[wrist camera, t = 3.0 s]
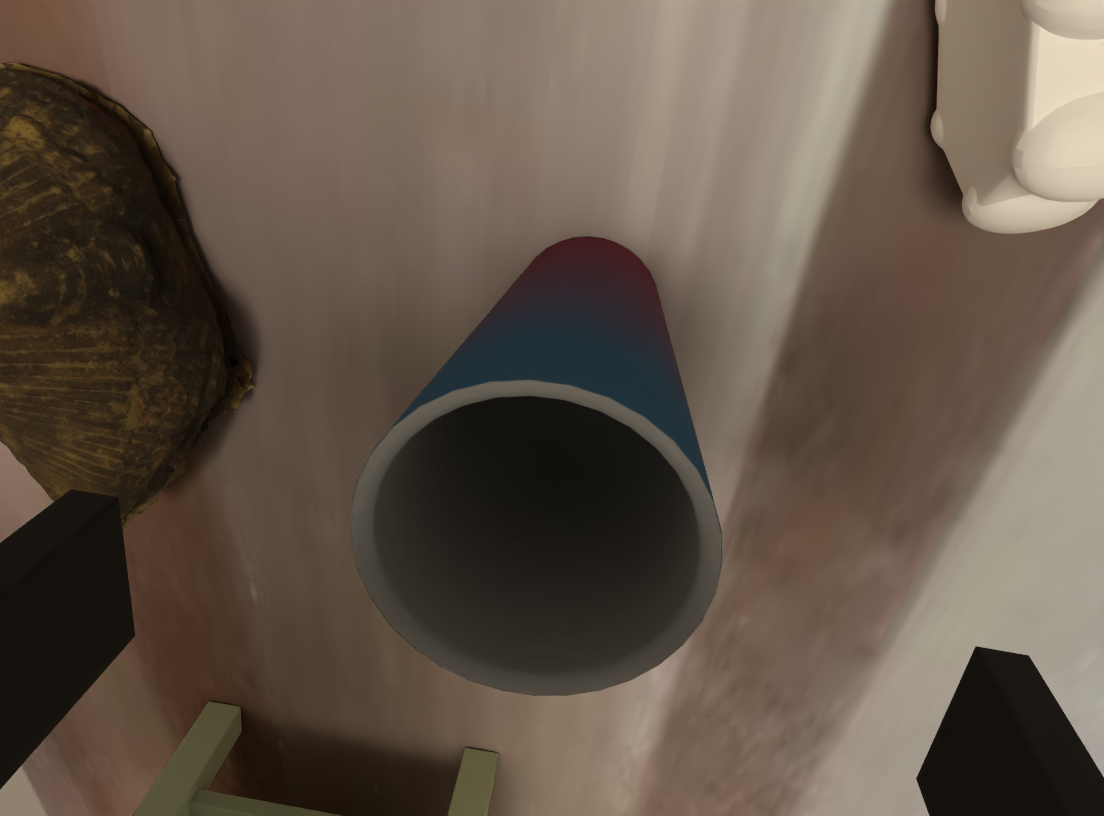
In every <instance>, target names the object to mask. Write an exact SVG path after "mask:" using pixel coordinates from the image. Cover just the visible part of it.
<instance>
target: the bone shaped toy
mask: <svg viewBox="0 0 1104 816" xmlns="http://www.w3.org/2000/svg"><path fill="white" fill-rule="evenodd" d="M935 15H936V19H937V22H938V25H939V45H938V79H937V109H936V110H935V112H934V114H933V116H932V120H931V126H930V128H931V133H932V136H933V139H934V141H935V142H936V143H937V144H938V145H939V147H940V148H942V149H943V150H944V152H945V154H946V157H947V159H948V161H949V164H950V166H951V168H952V170H953V173H954V175H955V177H956V180H957V182H958V184H959V186H960V189H961V191H962V193H963V200H962V211H963V214H964V215H965V217H966V219H967V220H968V221H969V222H970V223H971V224H973V225H974V226H976V227H978V228H980V229H982V230H985V231H989V232H994V233H1005V234H1013V233H1026V232H1034V231H1039V230H1044V229H1048V228H1053V227H1056V226H1059V225H1062V224H1065V223H1067V222H1070V221H1072V220H1073V219H1075V218H1077V217H1079V216H1081V215H1083V214H1084V213H1085V212H1087V211H1088V210H1089V209H1090V208H1092V207H1093V206H1094V205H1095V204H1096V202H1097V201H1098V200H1099V199H1103V198H1104V0H935Z"/></svg>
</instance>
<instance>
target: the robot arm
mask: <svg viewBox="0 0 1104 816" xmlns="http://www.w3.org/2000/svg"><path fill="white" fill-rule="evenodd" d="M134 636H135V629H134V621H133V613H132V605H131V597H130V589H129V580H128V572H127V564H126V556H125V548H124V539H123V531H122V523H121V515H120V507H119V499H118V497H114V496H109V495H103V494H97V493H91V492H86V491H80V490H74V489H71V490H69V491H68V492H67V493H65V494H64V495H63V496H61V497H60V498H59V499H57V500H56V501H55V502H53V503H52V504H51V505H50V506H48V507H47V508H46V509H44V510H43V511H42V512H40V513H39V514H38V515H36V516H35V517H34V518H33V519H31V520H30V521H29V522H27V523H26V524H25V525H23V526H22V527H21V528H19V529H18V530H17V531H15V532H14V533H13V534H12V535H10V536H9V537H8V538H6V539H5V540H4V541H2V542H1V543H0V789H1V788H2V787H3V785H5V783H6V782H7V781H8V780H9V779H10V778H11V777H12V775H13V774H14V773H15V772H16V771H17V770H18V768H19V767H20V766H21V765H22V764H23V763H24V762H25V761H26V759H27V758H28V757H29V756H30V755H31V754H32V753H33V751H34V750H35V749H36V748H37V747H38V746H39V745H40V744H41V742H42V741H43V740H44V739H45V738H46V737H47V736H48V734H49V733H50V732H51V731H52V730H53V729H54V728H55V726H56V725H57V724H58V723H59V722H60V721H61V720H62V718H63V717H64V716H65V715H66V714H67V713H68V712H69V710H70V709H71V708H72V707H73V706H74V705H75V704H76V702H77V701H78V700H79V699H80V698H81V697H82V696H83V695H84V693H85V692H86V691H87V690H88V689H89V688H90V687H91V685H92V684H93V683H94V682H95V681H96V680H97V679H98V677H99V676H100V675H101V674H102V673H103V672H104V671H105V669H106V668H107V667H108V666H109V665H110V664H111V663H112V661H113V660H114V659H115V658H116V657H117V656H118V655H119V653H120V652H121V651H122V650H123V649H124V648H125V647H126V646H127V644H128V643H129V642H130V641H131V640H132V639H133V638H134ZM916 779H917V782H918V785H919V788H920V790H921V793H922V796H923V799H924V802H925V804H926V807H927V810H928V813H929V816H1104V777H1103V776H1102V774H1101V772H1100V771H1099V769H1098V767H1097V766H1096V764H1095V763H1094V761H1093V759H1092V758H1091V756H1090V754H1089V753H1088V751H1087V750H1086V748H1085V746H1084V745H1083V743H1082V741H1081V740H1080V738H1079V736H1078V735H1077V733H1076V732H1075V730H1074V728H1073V727H1072V725H1071V723H1070V722H1069V720H1068V719H1067V717H1066V715H1065V714H1064V712H1063V710H1062V709H1061V707H1060V706H1059V704H1058V702H1057V701H1056V699H1055V697H1054V696H1053V694H1052V693H1051V691H1050V689H1049V688H1048V686H1047V684H1046V683H1045V681H1044V680H1043V678H1042V676H1041V675H1040V673H1039V671H1038V670H1037V668H1036V666H1035V665H1034V663H1033V662H1032V660H1031V658H1030V657H1029V656H1028V655H1022V654H1016V653H1011V652H1005V651H999V650H993V649H988V648H982V647H975V649H974V651H973V654H972V656H971V658H970V660H969V663H968V665H967V667H966V669H965V671H964V674H963V676H962V678H961V680H960V683H959V685H958V687H957V689H956V691H955V694H954V696H953V698H952V700H951V703H950V705H949V707H948V709H947V711H946V714H945V716H944V718H943V720H942V723H941V725H940V727H939V729H938V731H937V734H936V736H935V738H934V740H933V743H932V745H931V747H930V749H929V751H928V754H927V756H926V758H925V760H924V763H923V765H922V767H921V769H920V771H919V774H918V776H917V778H916Z"/></svg>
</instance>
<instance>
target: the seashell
mask: <svg viewBox="0 0 1104 816" xmlns="http://www.w3.org/2000/svg"><path fill="white" fill-rule="evenodd" d="M175 181H176V178H175V177H174V176H173V175H172V174H171V172H170V170H169V168H168V166H167V165H166V164H165V163H164V161H163V159H162V156H161V154H160V152H159V149H158V147H157V145H156V142H155V140H154V138H153V136H152V133H151V131H150V130H149V129H147V128H146V127H145V126H144V125H142V124H141V123H140V122H139V121H137V120H136V119H135V118H134V117H132V116H131V115H130V114H129V113H127V112H126V111H125V110H124V109H122V108H121V107H120V106H119V105H117V104H115V103H113V102H111V101H109V100H107V99H105V98H103V97H102V96H100V95H98V94H96V93H94V92H92V91H90V90H88V89H86V88H84V87H82V86H81V85H79V84H78V83H76V82H75V81H73V80H68V79H66V78H64V77H62V76H60V75H57V74H54V73H50V72H46V71H42V70H39V69H35V68H31V67H28V66H24V65H20V64H17V63H0V441H1V442H2V443H3V444H4V445H6V446H7V447H8V448H9V449H10V451H11V452H12V453H13V455H14V456H15V458H16V459H17V460H18V462H20V463H21V464H23V465H24V466H25V467H26V468H27V470H28V472H29V474H30V475H31V476H32V477H33V478H34V479H35V480H36V481H37V482H38V483H39V484H40V485H41V486H42V487H43V489H44V490H45V491H46V493H47V494H48V495H49V497H50V498H51V499H52V500H53V501H54V502H55V501H56V500H57V499H59V498H60V497H61V496H63V495H64V494H65V493H67V492H68V491H69V490H71V489H74V490H80V491H86V492H91V493H97V494H103V495H109V496H114V497H118V499H119V507H120V515H121V523H122V529H123V528H124V527H126V526H127V524H128V523H129V521H130V520H132V519H133V518H134V517H136V516H137V515H139V514H140V513H142V512H143V511H144V510H145V509H146V508H147V507H148V506H150V505H152V504H153V503H155V502H157V500H158V497H159V494H160V493H161V492H162V491H163V489H165V487H166V486H167V485H168V484H169V483H170V482H172V481H173V480H174V479H175V478H176V477H177V476H178V475H180V474H182V473H184V472H186V469H187V466H186V456H187V454H188V452H189V450H190V449H192V448H193V447H196V446H203V443H204V440H205V439H206V437H207V433H208V423H209V422H210V421H212V420H214V419H215V418H217V417H218V416H220V415H221V414H227V412H226V410H227V409H228V408H229V407H231V408H233V409H235V410H236V409H237V408H238V407H239V405H240V403H241V399H242V397H243V396H244V394H245V393H246V392H247V391H249V390H250V389H251V388H253V387H255V386H254V385H253V384H252V383H251V377H252V369H251V363H250V362H249V361H248V360H247V359H246V358H245V357H244V356H243V355H242V353H241V352H240V351H239V349H238V346H237V344H236V341H235V338H234V335H233V333H232V330H231V327H230V323H229V319H228V315H227V311H226V308H225V306H224V305H223V303H222V301H221V299H220V297H219V296H218V294H217V292H216V290H215V289H214V286H213V284H212V282H211V281H210V279H209V277H208V275H207V273H206V270H205V268H204V266H203V263H202V261H201V259H200V256H199V254H198V251H197V249H196V247H195V244H194V242H193V239H192V237H191V235H190V232H189V230H188V224H187V219H186V216H185V213H184V210H183V206H182V203H181V200H180V197H179V194H178V191H177V187H176V184H175Z"/></svg>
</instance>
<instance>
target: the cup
mask: <svg viewBox="0 0 1104 816" xmlns="http://www.w3.org/2000/svg"><path fill="white" fill-rule="evenodd" d="M350 515H351V545H352V549H353V553H354V557H355V561H356V565H357V570H358V573H359V575H360V577H361V579H362V581H363V583H364V586H365V588H366V590H367V592H368V594H369V596H370V598H371V600H372V602H373V603H374V604H375V606H376V607H377V608H378V610H379V611H380V613H381V614H382V615H383V617H384V618H385V619H386V621H387V622H388V624H389V625H390V626H391V627H392V628H393V629H394V630H395V631H396V632H397V633H398V634H399V635H400V636H401V637H402V638H403V639H404V640H405V641H406V642H408V643H409V644H410V645H411V646H412V647H413V648H414V649H415V650H417V651H418V652H420V653H421V654H423V655H424V656H426V657H427V658H429V659H430V660H431V661H433V662H434V663H436V664H437V665H439V666H440V667H442V668H444V669H446V670H448V671H451V672H453V673H455V674H457V675H459V676H461V677H463V678H465V679H467V680H469V681H472V682H475V683H479V684H482V685H485V686H488V687H492V688H495V689H498V690H501V691H508V692H515V693H521V694H528V695H534V696H568V695H574V694H581V693H587V692H593V691H600V690H603V689H606V688H609V687H612V686H615V685H618V684H621V683H624V682H627V681H630V680H632V679H634V678H636V677H638V676H639V675H641V674H643V673H645V672H647V671H649V670H650V669H652V668H654V667H656V666H658V665H659V664H661V663H662V662H663V661H664V660H665V659H667V658H668V657H669V656H670V655H672V654H673V653H674V652H675V651H676V650H678V649H679V648H680V647H681V646H682V645H683V644H684V643H685V642H686V641H687V639H688V638H689V637H690V636H691V634H692V633H693V632H694V631H695V629H696V628H697V627H698V626H699V624H700V623H701V622H702V620H703V618H704V616H705V614H706V612H707V610H708V608H709V606H710V604H711V602H712V599H713V597H714V595H715V593H716V589H717V585H718V580H719V575H720V571H721V566H722V530H721V527H720V523H719V519H718V515H717V511H716V507H715V504H714V500H713V496H712V492H711V489H710V485H709V481H708V477H707V474H706V470H705V466H704V463H703V459H702V455H701V452H700V448H699V444H698V440H697V437H696V433H695V429H694V426H693V422H692V418H691V415H690V411H689V407H688V403H687V400H686V396H685V392H684V389H683V385H682V381H681V378H680V374H679V370H678V366H677V363H676V359H675V355H674V352H673V348H672V344H671V341H670V337H669V333H668V329H667V326H666V322H665V318H664V315H663V311H662V307H661V304H660V300H659V296H658V292H657V289H656V285H655V282H654V280H653V278H652V276H651V274H650V272H649V270H648V269H647V268H646V266H645V265H644V264H643V262H642V261H641V260H640V259H639V258H638V257H637V256H636V255H634V254H633V253H632V252H631V251H630V250H628V249H627V248H625V247H623V246H621V245H619V244H618V243H615V242H612V241H609V240H606V239H603V238H596V237H577V238H571V239H567V240H564V241H560V242H558V243H556V244H554V245H552V246H550V247H548V248H547V249H545V250H544V251H543V252H542V253H541V254H539V255H538V256H537V257H536V258H535V259H534V260H533V261H532V262H531V264H530V265H529V266H528V267H527V268H526V270H525V271H524V272H523V273H522V274H521V275H520V277H519V278H518V279H517V280H516V281H515V283H514V284H513V285H512V286H511V287H510V288H509V290H508V291H507V292H506V293H505V294H504V295H503V297H502V298H501V299H500V300H499V301H498V303H497V304H496V305H495V306H494V307H493V308H492V310H491V311H490V312H489V313H488V314H487V316H486V317H485V318H484V319H483V320H482V321H481V323H480V324H479V325H478V326H477V327H476V328H475V330H474V331H473V332H472V333H471V334H470V336H469V337H468V338H467V339H466V340H465V341H464V343H463V344H462V345H461V346H460V347H459V348H458V350H457V351H456V352H455V353H454V354H453V356H452V357H451V358H450V359H449V360H448V361H447V363H446V364H445V365H444V366H443V367H442V369H441V370H440V371H439V372H438V373H437V374H436V376H435V377H434V378H433V379H432V380H431V381H430V383H429V384H428V385H427V386H426V387H425V389H424V390H423V391H422V392H421V393H420V394H419V396H418V397H417V398H416V399H415V400H414V402H413V403H412V404H411V405H410V406H409V407H408V409H407V410H406V411H405V412H404V413H403V414H402V416H401V417H400V418H399V419H398V420H397V422H396V423H395V424H394V425H393V426H392V427H391V429H390V430H389V431H388V432H387V434H386V435H385V436H384V437H383V438H382V440H381V441H380V442H379V443H378V444H377V446H376V447H375V448H374V449H373V451H372V452H371V453H370V455H369V457H368V460H367V462H366V464H365V466H364V468H363V470H362V472H361V474H360V476H359V478H358V480H357V483H356V488H355V493H354V497H353V502H352V506H351V511H350Z"/></svg>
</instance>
